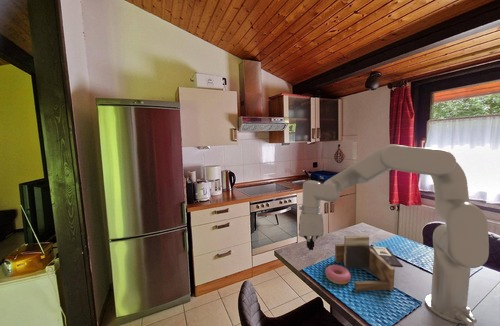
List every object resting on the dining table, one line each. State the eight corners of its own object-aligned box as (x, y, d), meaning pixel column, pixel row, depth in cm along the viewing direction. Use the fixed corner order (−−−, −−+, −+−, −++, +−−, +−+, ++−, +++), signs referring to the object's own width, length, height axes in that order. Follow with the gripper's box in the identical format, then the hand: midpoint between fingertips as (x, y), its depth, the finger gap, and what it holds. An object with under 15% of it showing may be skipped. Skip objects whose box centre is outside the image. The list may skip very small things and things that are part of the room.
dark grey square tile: (369, 267, 104) (370, 246, 103) (346, 268, 104) (347, 246, 103) (368, 266, 105) (368, 245, 103) (345, 267, 105) (346, 245, 103)
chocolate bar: (382, 264, 106) (370, 246, 123) (382, 265, 106) (370, 247, 123) (402, 265, 104) (387, 247, 121) (402, 267, 104) (387, 249, 121)
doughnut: (350, 289, 90) (350, 280, 89) (323, 282, 95) (323, 273, 94) (351, 274, 99) (351, 266, 99) (326, 268, 104) (326, 260, 104)
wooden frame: (393, 289, 89) (395, 255, 87) (356, 290, 89) (357, 256, 87) (365, 259, 110) (366, 232, 109) (335, 260, 110) (335, 233, 109)
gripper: (296, 212, 90) (295, 253, 92) (331, 211, 90) (330, 252, 92) (292, 206, 97) (292, 244, 99) (325, 206, 97) (324, 244, 99)
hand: (310, 248), depth 96 cm, fingers closed
